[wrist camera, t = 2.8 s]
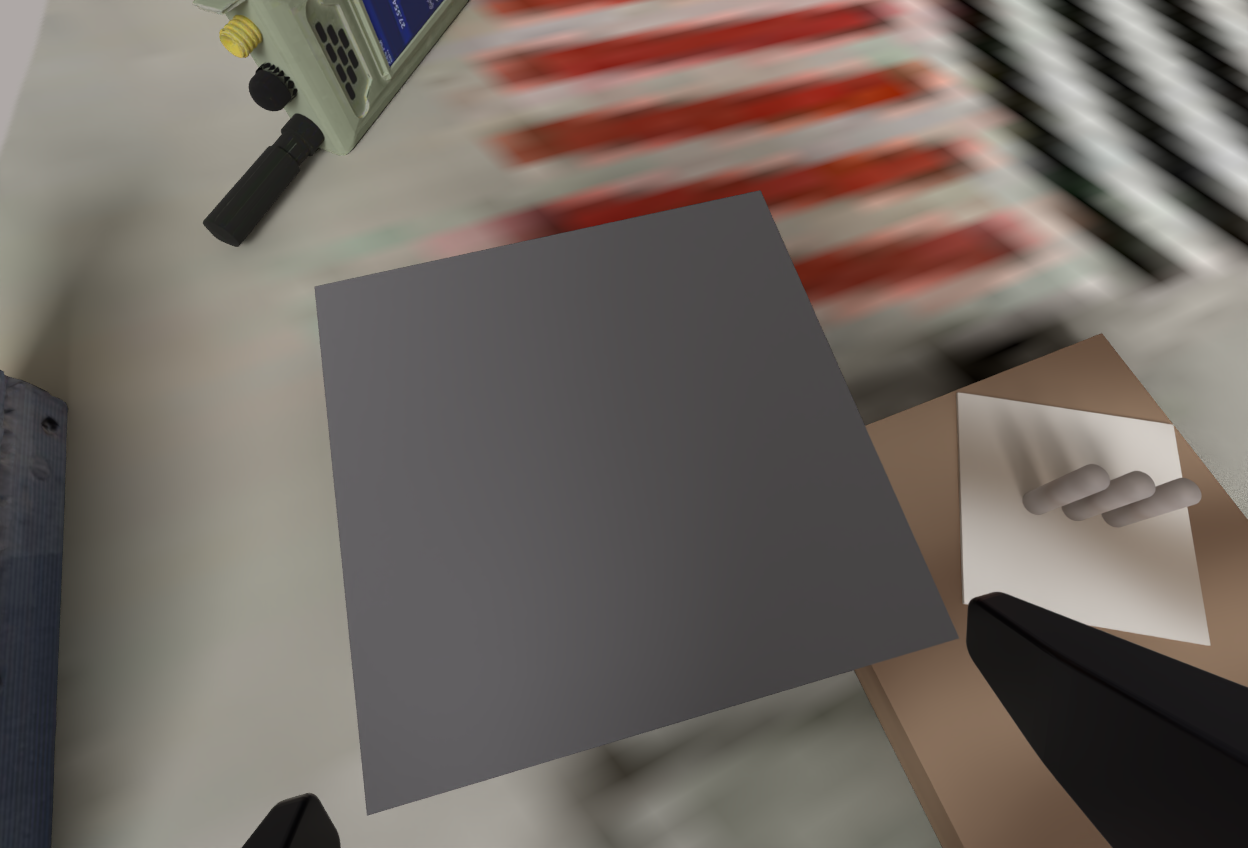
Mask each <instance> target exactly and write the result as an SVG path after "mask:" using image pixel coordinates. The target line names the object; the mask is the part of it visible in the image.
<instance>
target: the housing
mask: <svg viewBox="0 0 1248 848" xmlns="http://www.w3.org/2000/svg"><path fill="white" fill-rule="evenodd" d="M315 297H316V307H317V317H318V327H319V337H320V347H321V357H322V367H323V377H324V387H325V397H326V407H327V417H328V427H329V437H330V447H331V458H332V468H333V478H334V488H335V498H336V508H337V518H338V528H339V538H340V548H341V558H342V568H343V578H344V588H345V598H346V608H347V618H348V629H349V639H350V649H351V659H352V669H353V679H354V689H355V699H356V709H357V719H358V729H359V739H360V749H361V759H362V769H363V779H364V789H365V800H366V810H367V815H371V814H374V813H377V812H381V811H384V810H387V809H391V808H394V807H397V806H401V805H404V804H408V803H411V802H414V801H418V800H421V799H424V798H428V797H431V796H434V795H438V794H441V793H444V792H448V791H451V790H454V789H458V788H461V787H464V786H468V785H471V784H474V783H478V782H481V781H484V780H488V779H491V778H494V777H498V776H501V775H504V774H508V773H511V772H514V771H518V770H521V769H524V768H528V767H531V766H534V765H538V764H541V763H544V762H548V761H551V760H555V759H558V758H561V757H565V756H568V755H571V754H575V753H578V752H581V751H585V750H588V749H591V748H595V747H598V746H601V745H605V744H608V743H611V742H615V741H618V740H621V739H625V738H628V737H631V736H635V735H638V734H641V733H645V732H648V731H651V730H655V729H658V728H661V727H665V726H668V725H671V724H675V723H678V722H681V721H685V720H688V719H691V718H695V717H698V716H702V715H705V714H708V713H712V712H715V711H718V710H722V709H725V708H728V707H732V706H735V705H738V704H742V703H745V702H748V701H752V700H755V699H758V698H762V697H765V696H768V695H772V694H775V693H778V692H782V691H785V690H788V689H792V688H795V687H798V686H802V685H805V684H808V683H812V682H815V681H818V680H822V679H825V678H828V677H832V676H835V675H838V674H842V673H845V672H849V671H852V670H855V669H859V668H862V667H865V666H869V665H872V664H875V663H879V662H882V661H885V660H889V659H892V658H895V657H899V656H902V655H905V654H909V653H912V652H915V651H919V650H922V649H925V648H929V647H932V646H935V645H939V644H942V643H945V642H949V641H952V640H955V639H959V636H958V634H957V632H956V629H955V627H954V625H953V623H952V620H951V618H950V616H949V614H948V611H947V609H946V607H945V605H944V602H943V600H942V598H941V596H940V593H939V591H938V589H937V587H936V584H935V582H934V580H933V578H932V575H931V573H930V571H929V569H928V566H927V564H926V562H925V560H924V557H923V555H922V553H921V551H920V548H919V546H918V544H917V542H916V539H915V537H914V535H913V533H912V530H911V528H910V526H909V524H908V521H907V519H906V517H905V515H904V512H903V510H902V508H901V506H900V503H899V501H898V499H897V497H896V494H895V492H894V490H893V488H892V485H891V483H890V481H889V479H888V476H887V474H886V472H885V470H884V467H883V465H882V463H881V461H880V458H879V456H878V454H877V452H876V449H875V447H874V445H873V443H872V440H871V438H870V436H869V434H868V431H867V429H866V427H865V425H864V422H863V420H862V418H861V416H860V413H859V411H858V409H857V407H856V404H855V402H854V400H853V398H852V395H851V393H850V391H849V389H848V386H847V384H846V382H845V380H844V377H843V375H842V373H841V371H840V368H839V366H838V364H837V362H836V359H835V357H834V355H833V353H832V350H831V348H830V346H829V344H828V341H827V339H826V337H825V335H824V332H823V330H822V328H821V326H820V323H819V321H818V319H817V317H816V314H815V312H814V310H813V308H812V305H811V303H810V301H809V299H808V296H807V294H806V292H805V290H804V287H803V285H802V283H801V281H800V278H799V276H798V274H797V272H796V269H795V267H794V265H793V263H792V260H791V258H790V256H789V254H788V251H787V249H786V247H785V245H784V242H783V240H782V238H781V236H780V233H779V231H778V229H777V227H776V224H775V222H774V220H773V218H772V215H771V213H770V211H769V209H768V206H767V204H766V202H765V200H764V197H763V195H762V193H761V191H755V192H750V193H746V194H741V195H736V196H732V197H727V198H722V199H718V200H713V201H709V202H704V203H699V204H695V205H690V206H685V207H681V208H676V209H672V210H667V211H662V212H658V213H653V214H648V215H644V216H639V217H635V218H630V219H625V220H621V221H616V222H611V223H607V224H602V225H597V226H593V227H588V228H584V229H579V230H574V231H570V232H565V233H560V234H556V235H551V236H547V237H542V238H537V239H533V240H528V241H523V242H519V243H514V244H509V245H505V246H500V247H496V248H491V249H486V250H482V251H477V252H472V253H468V254H463V255H459V256H454V257H449V258H445V259H440V260H435V261H431V262H426V263H422V264H417V265H412V266H408V267H403V268H398V269H394V270H389V271H384V272H380V273H375V274H371V275H366V276H361V277H357V278H352V279H347V280H343V281H338V282H334V283H329V284H324V285H320V286H315Z"/></svg>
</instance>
